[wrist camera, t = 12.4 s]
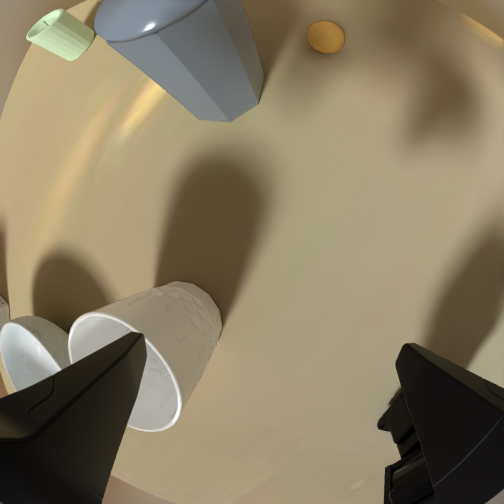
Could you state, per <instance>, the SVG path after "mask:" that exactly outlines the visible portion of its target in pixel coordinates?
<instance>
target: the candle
mask: <svg viewBox="0 0 504 504" xmlns="http://www.w3.org/2000/svg"><path fill="white" fill-rule="evenodd" d="M93 38H94V31H93V30H92V29H91V28H89V27H88V26H87V25H85V24H84V23H82V22H81V21H79V20H78V19H77V18H75V17H74V16H72V15H71V14H69V13H68V12H66V11H65V10H63V9H57V10H54V11H52V12H50V13H49V14H47V15H46V16H44V17H43V18H42V19H40V20H39V21H38V22H37V23H36V24H35V25H34V26H33V27H32V28H31V29H30V31H29V32H28V34H27V36H26V39H27V40H29V41H31V42H33V43H35V44H37V45H39V46H41V47H43V48H45V49H47V50H49V51H51V52H53V53H55V54H57V55H59V56H61V57H63V58H64V59H66V60H68V61H72V60H75V59H76V58H78V57H79V56H81V55H82V54H83V53H84V52H85V51H86V50H87V49H88V47H89V46H90V44H91V43H92V41H93Z"/></svg>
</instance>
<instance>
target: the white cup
mask: <svg viewBox="0 0 504 504" xmlns="http://www.w3.org/2000/svg"><path fill="white" fill-rule="evenodd" d="M221 330H222V323H221V317H220V311H219V309H218V307H217V306H216V304H215V303H214V301H213V300H212V298H211V297H210V295H209V294H208V293H206V292H205V291H203V290H202V289H200V288H199V287H197V286H196V285H194V284H192V283H186V282H180V281H174V282H171V283H168V284H165V285H162V286H160V287H157V288H150V289H148V290H145V291H141V292H139V293H136V294H134V295H131V296H129V297H126V298H124V299H121V300H118V301H116V302H113V303H111V304H108V305H106V306H103V307H101V308H98V309H96V310H93V311H90V312H88V313H85V314H83V315H81V316H80V317H79V318H78V319H77V320H76V321H75V322H74V323H73V325H72V327H71V329H70V333H69V338H68V350H69V357H70V361H71V364H73V363H75V362H77V361H79V360H80V359H82V358H84V357H86V356H88V355H90V354H91V353H93V352H95V351H97V350H99V349H101V348H102V347H104V346H106V345H108V344H110V343H111V342H113V341H115V340H117V339H119V338H121V337H122V336H124V335H126V334H128V333H130V332H132V331H133V332H139V333H143V334H144V336H145V342H146V349H147V360H146V364H145V368H144V372H143V376H142V380H141V384H140V388H139V392H138V396H137V399H136V402H135V404H134V407H133V410H132V412H131V415H130V418H129V421H128V423H127V426H128V427H131V428H134V429H137V430H141V431H148V432H156V431H162V430H165V429H167V428H169V427H171V426H172V425H173V424H175V422H176V421H177V420H178V418H179V416H180V415H181V413H182V411H183V409H184V407H185V405H186V403H187V402H188V400H189V398H190V396H191V394H192V393H193V391H194V389H195V387H196V385H197V384H198V382H199V380H200V378H201V376H202V374H203V372H204V370H205V368H206V366H207V364H208V362H209V360H210V358H211V356H212V353H213V351H214V348H215V346H216V345H217V343H218V339H219V336H220V333H221Z"/></svg>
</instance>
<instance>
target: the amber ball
mask: <svg viewBox="0 0 504 504" xmlns="http://www.w3.org/2000/svg"><path fill="white" fill-rule="evenodd" d="M307 39H308V41H309V43H310V45H311V46H312V47H313V48H314V49H316V50H318V51H320V52H323V53H333V52H336V51H338V50H339V49H340V48H341V47H342V46H343V44H344V39H345V38H344V34H343V31H342V30H341V28H340V27H339V26H337V25H336V24H334V23H332V22H329V21H318V22H316V23H314V24H312V25H311V26H310V27H309V29H308V32H307Z"/></svg>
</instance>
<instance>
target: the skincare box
mask: <svg viewBox="0 0 504 504" xmlns="http://www.w3.org/2000/svg"><path fill="white" fill-rule="evenodd" d="M9 321H10V317H9V305H8V304H7V302H6V301H5V300H4V299H3V298H2V297H1V296H0V333H1V330H2V327H3V326H4V324H5V323H7V322H9Z"/></svg>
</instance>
